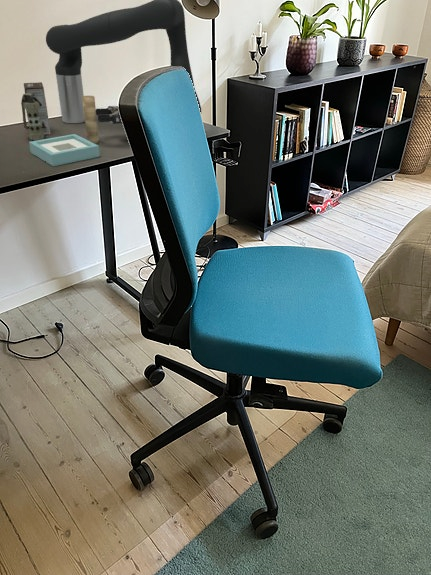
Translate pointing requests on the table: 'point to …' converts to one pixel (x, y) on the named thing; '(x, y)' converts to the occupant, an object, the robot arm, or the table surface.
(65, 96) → the robot arm
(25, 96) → the grenade model
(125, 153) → the table surface
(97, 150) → the socket box
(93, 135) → the peg
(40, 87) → the coffee box
